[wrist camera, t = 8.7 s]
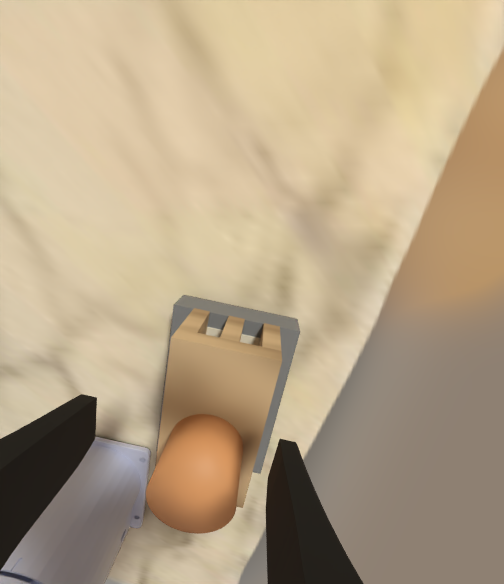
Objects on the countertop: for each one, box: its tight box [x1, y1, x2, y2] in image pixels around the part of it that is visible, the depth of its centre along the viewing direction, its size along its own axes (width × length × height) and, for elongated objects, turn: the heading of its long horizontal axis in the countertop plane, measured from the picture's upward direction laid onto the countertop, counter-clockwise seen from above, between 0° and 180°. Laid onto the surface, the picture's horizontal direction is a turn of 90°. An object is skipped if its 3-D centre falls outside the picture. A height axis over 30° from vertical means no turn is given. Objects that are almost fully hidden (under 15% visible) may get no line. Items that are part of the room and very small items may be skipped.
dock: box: [157, 295, 300, 474], centre depth 20 cm, size 12×8×2 cm, turn 169°
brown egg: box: [146, 414, 243, 533], centre depth 13 cm, size 4×4×3 cm
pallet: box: [155, 308, 282, 508], centre depth 16 cm, size 10×5×4 cm, turn 169°
